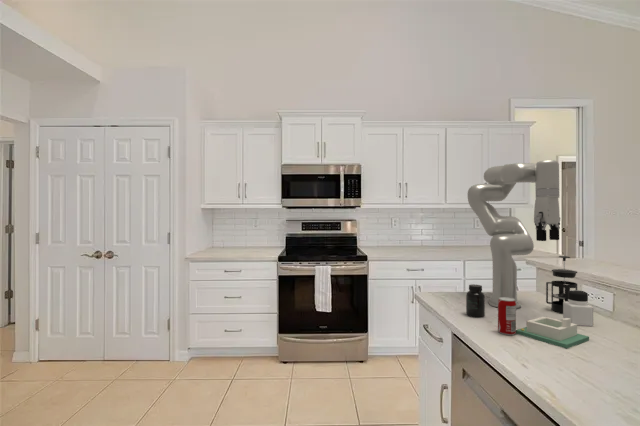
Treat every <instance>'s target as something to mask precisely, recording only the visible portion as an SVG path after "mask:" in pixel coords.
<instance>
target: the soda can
mask: <svg viewBox="0 0 640 426" xmlns="http://www.w3.org/2000/svg"><path fill="white" fill-rule="evenodd" d="M516 330H517V309H516V302H515V299H513V298H508V297H500V298H499V300H498V307H497V331H498V333H499V334H501V335H505V336H513V335H516Z"/></svg>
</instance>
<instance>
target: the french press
mask: <svg viewBox="0 0 640 426" xmlns="http://www.w3.org/2000/svg"><path fill="white" fill-rule="evenodd" d="M558 258H561V259H562V261H563V268H561V269H560V268H557V269H555V268H554V269H551V272H552V276H553V277H558V278H563V280H552V281H546V283H545V302H546V304H548V305H550V306H551V307H550V311H551V312H553V313H556V314H561V315H563V302H564V301H568V291H570V290H571V289H575V290H578V283H577V282H574V281H569V280H568V281H567V280H566V278H567V279H573V278H575V277H576V276H577V274H578V271H577V270H573V269H566V265H565V264H566V261H567V260H566V259H571V257H570V256H568V255H559V256H558ZM550 284H551V285H550ZM549 285H550V286H551V291H550V292H551V301H549ZM554 287H557V288H558V293H554ZM554 299H558V300H554ZM568 302H569V301H568Z"/></svg>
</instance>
